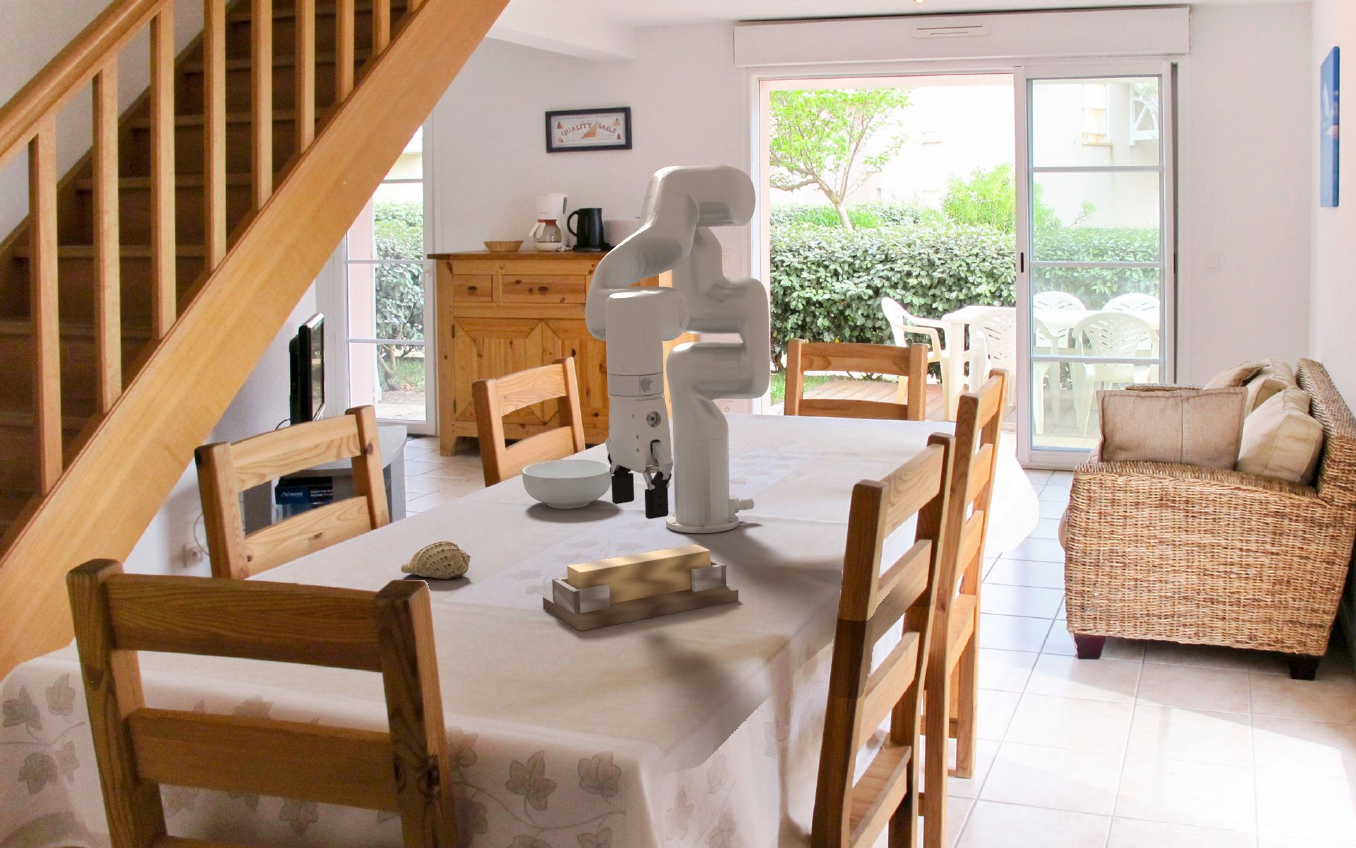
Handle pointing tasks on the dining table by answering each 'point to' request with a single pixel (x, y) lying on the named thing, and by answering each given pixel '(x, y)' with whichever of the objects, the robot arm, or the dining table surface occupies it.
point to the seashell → (438, 561)
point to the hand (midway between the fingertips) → (639, 509)
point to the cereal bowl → (567, 482)
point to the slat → (641, 572)
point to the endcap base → (636, 600)
